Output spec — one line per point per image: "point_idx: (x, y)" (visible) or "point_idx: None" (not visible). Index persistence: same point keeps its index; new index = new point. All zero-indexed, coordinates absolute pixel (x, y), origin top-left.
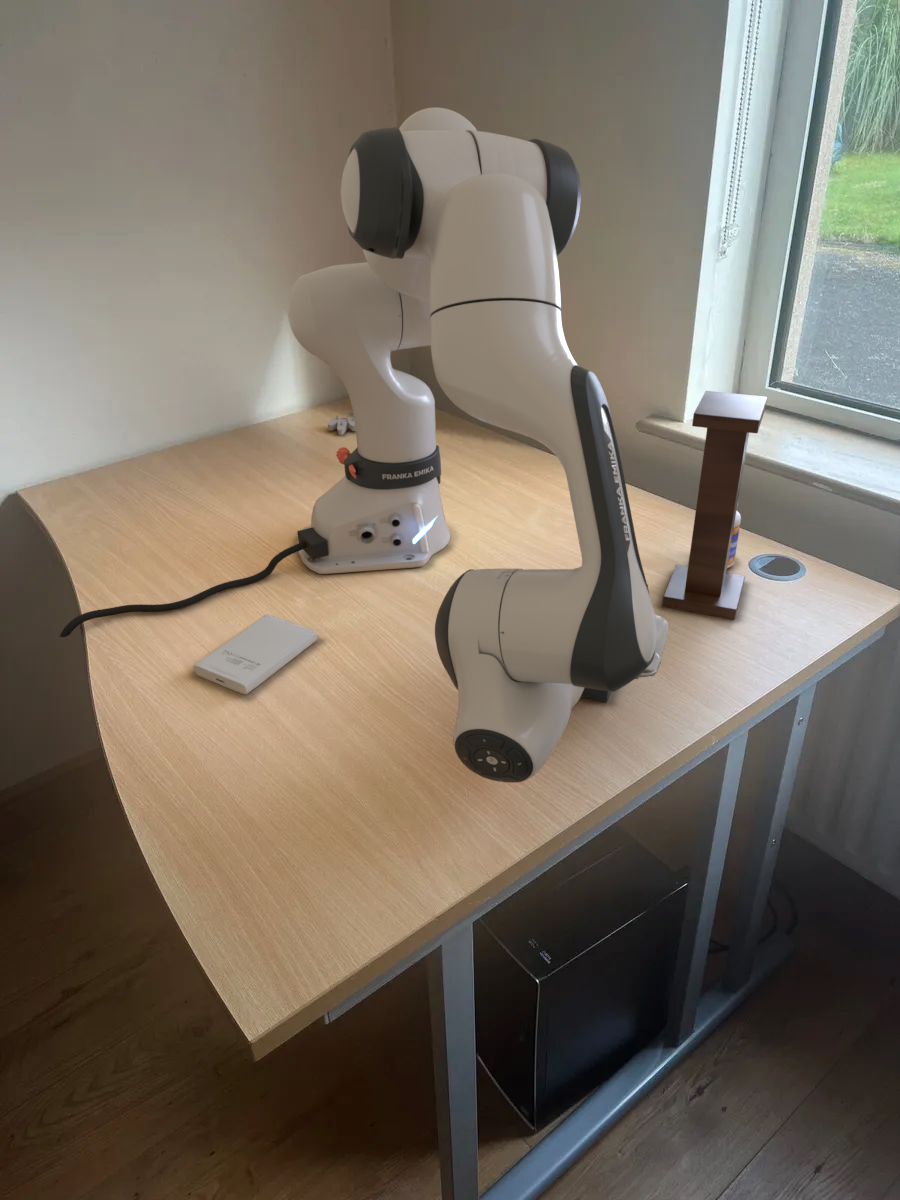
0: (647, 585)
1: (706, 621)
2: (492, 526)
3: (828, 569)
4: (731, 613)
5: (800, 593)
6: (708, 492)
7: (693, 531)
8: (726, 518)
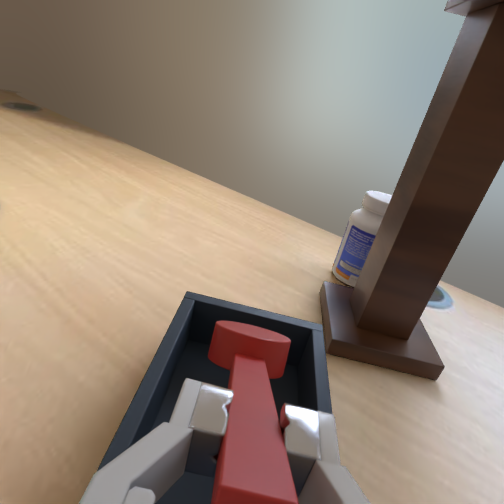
0: (322, 326)
1: (402, 386)
2: (73, 209)
3: (467, 294)
4: (435, 371)
5: (471, 328)
6: (446, 167)
7: (398, 236)
8: (461, 218)
